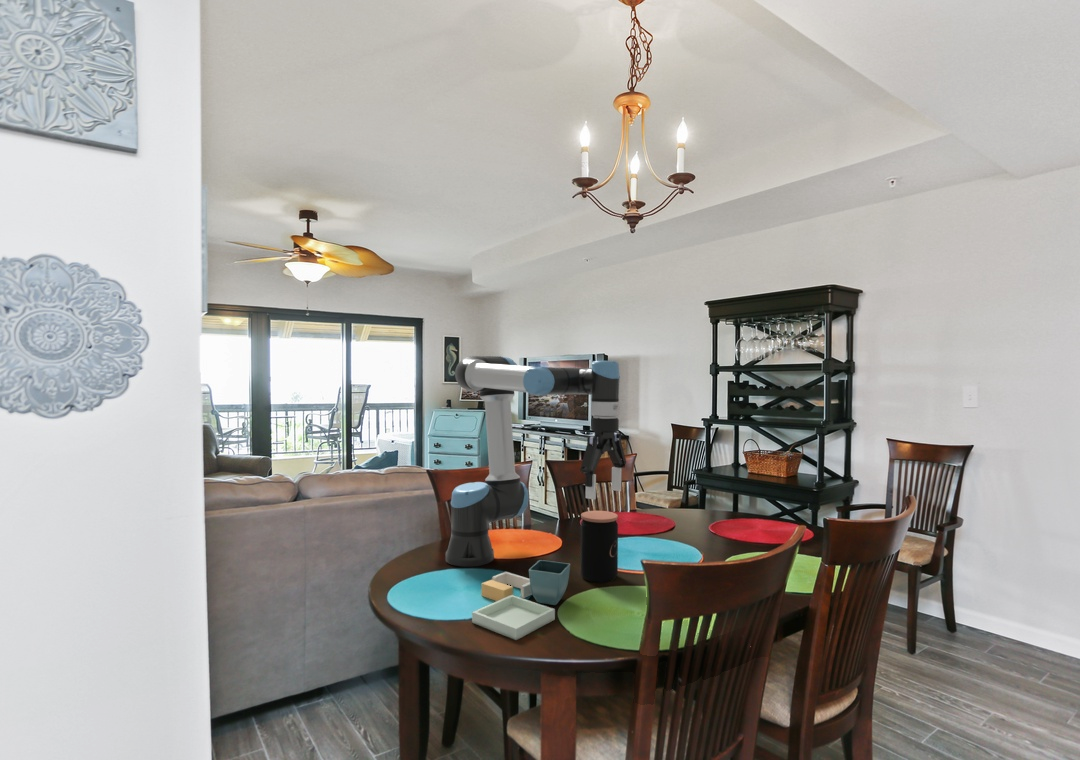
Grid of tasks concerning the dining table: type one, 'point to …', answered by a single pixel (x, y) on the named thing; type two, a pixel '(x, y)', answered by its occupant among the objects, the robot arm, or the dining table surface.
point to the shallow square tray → (513, 616)
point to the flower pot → (549, 581)
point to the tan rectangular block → (495, 590)
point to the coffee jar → (599, 546)
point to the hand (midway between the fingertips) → (603, 494)
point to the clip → (515, 582)
